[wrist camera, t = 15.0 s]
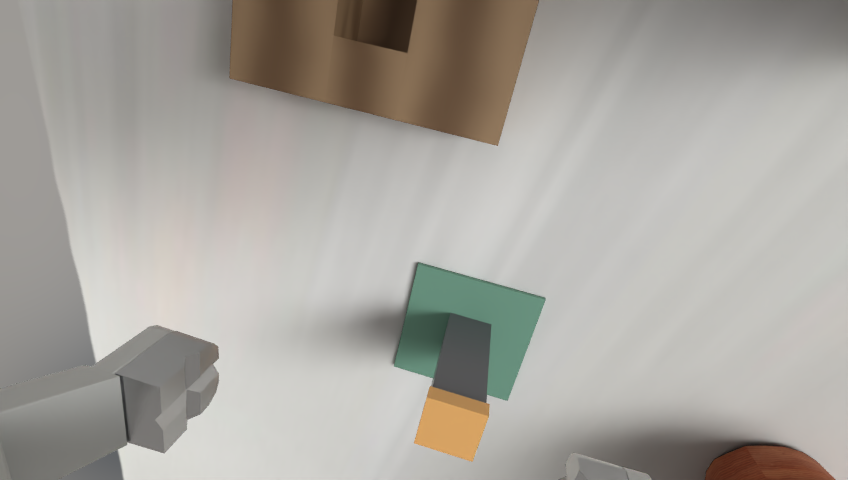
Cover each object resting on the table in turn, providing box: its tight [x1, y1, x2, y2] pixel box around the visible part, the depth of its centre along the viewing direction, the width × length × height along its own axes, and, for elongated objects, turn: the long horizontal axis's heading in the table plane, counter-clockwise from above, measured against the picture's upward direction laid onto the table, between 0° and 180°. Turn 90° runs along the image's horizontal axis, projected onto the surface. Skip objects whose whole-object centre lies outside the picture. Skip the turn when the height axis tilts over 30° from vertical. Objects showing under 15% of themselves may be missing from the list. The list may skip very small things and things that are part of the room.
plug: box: [414, 313, 491, 461], centre depth 36 cm, size 4×4×12 cm
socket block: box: [229, 0, 539, 146], centre depth 31 cm, size 20×14×6 cm
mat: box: [394, 263, 545, 401], centre depth 42 cm, size 12×12×1 cm
